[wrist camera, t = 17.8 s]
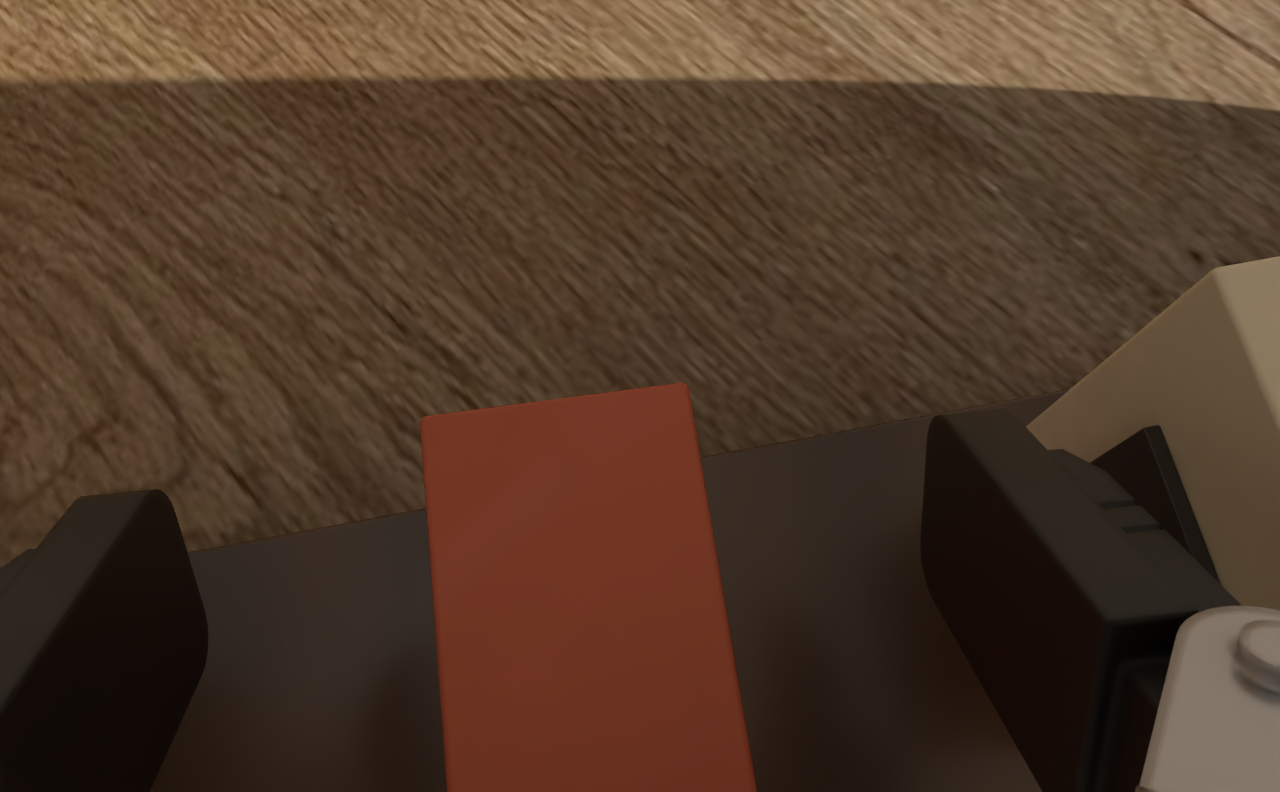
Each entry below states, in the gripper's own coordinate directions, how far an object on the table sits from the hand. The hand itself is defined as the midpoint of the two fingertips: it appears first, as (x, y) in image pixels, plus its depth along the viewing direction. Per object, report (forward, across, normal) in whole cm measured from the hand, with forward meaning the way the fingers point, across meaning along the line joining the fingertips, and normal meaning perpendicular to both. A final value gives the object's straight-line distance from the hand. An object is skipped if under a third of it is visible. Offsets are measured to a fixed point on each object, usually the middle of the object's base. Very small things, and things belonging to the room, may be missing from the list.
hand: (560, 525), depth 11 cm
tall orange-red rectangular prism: (+3, 0, +5) cm, 6 cm away
